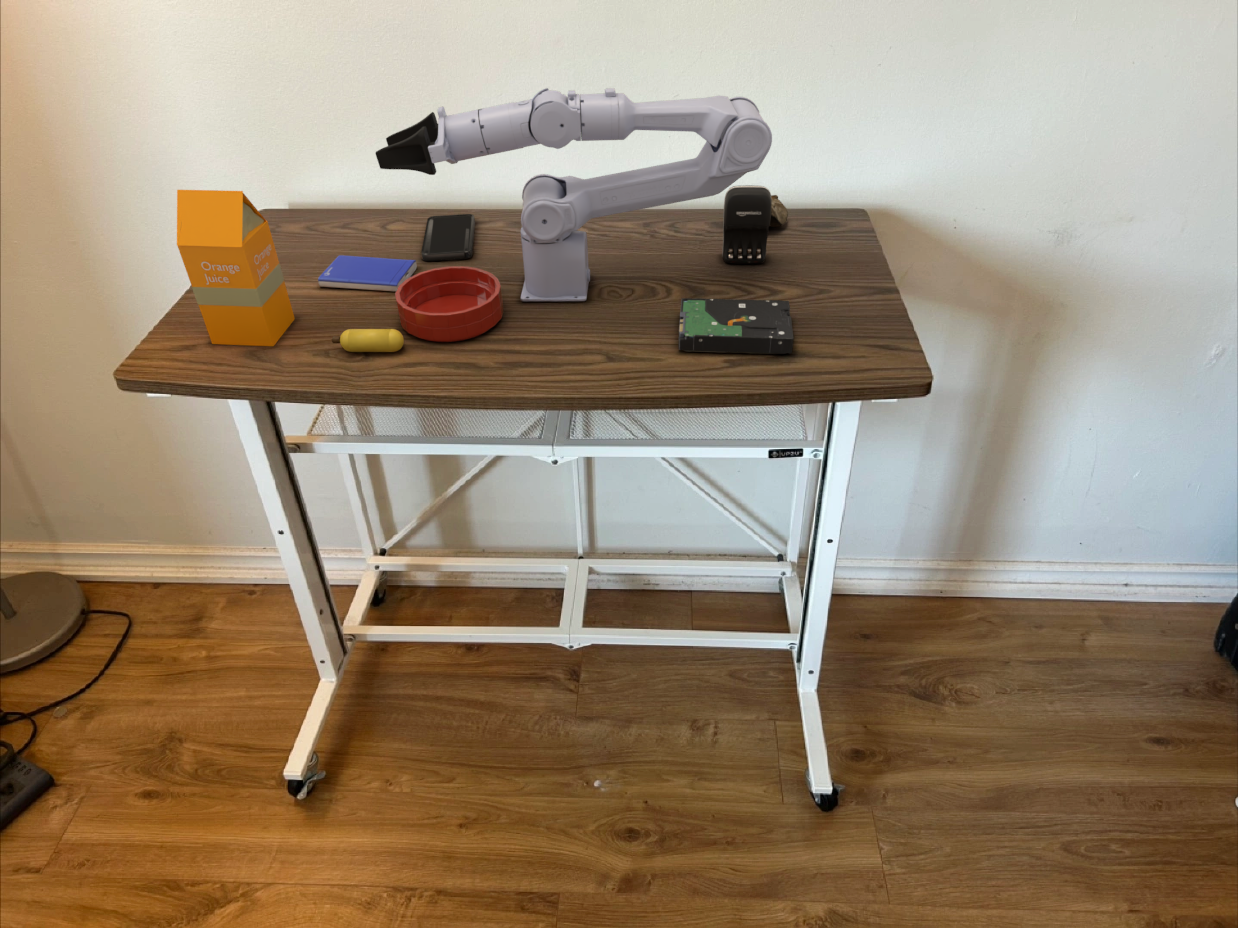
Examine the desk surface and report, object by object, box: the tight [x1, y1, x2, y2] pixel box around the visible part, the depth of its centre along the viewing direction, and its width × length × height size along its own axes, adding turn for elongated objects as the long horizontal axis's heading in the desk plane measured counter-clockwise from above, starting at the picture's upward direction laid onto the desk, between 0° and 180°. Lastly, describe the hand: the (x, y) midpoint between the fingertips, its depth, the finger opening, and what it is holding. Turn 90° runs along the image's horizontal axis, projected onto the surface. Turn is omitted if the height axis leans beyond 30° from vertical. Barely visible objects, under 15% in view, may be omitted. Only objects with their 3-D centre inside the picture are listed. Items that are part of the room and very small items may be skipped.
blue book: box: [317, 254, 418, 292], centre depth 134 cm, size 2×8×12 cm
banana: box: [331, 328, 405, 353], centre depth 117 cm, size 9×3×3 cm, turn 88°
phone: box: [420, 213, 476, 262], centre depth 144 cm, size 8×1×15 cm
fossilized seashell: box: [769, 194, 789, 228], centre depth 145 cm, size 8×7×10 cm
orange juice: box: [176, 189, 296, 347], centre depth 117 cm, size 8×9×20 cm
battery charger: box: [721, 184, 772, 265], centre depth 133 cm, size 7×4×11 cm, turn 87°
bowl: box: [394, 265, 504, 343], centre depth 123 cm, size 14×14×4 cm
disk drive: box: [678, 297, 795, 355], centre depth 119 cm, size 10×3×15 cm
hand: (383, 152), depth 117 cm, fingers open, 7 cm apart
